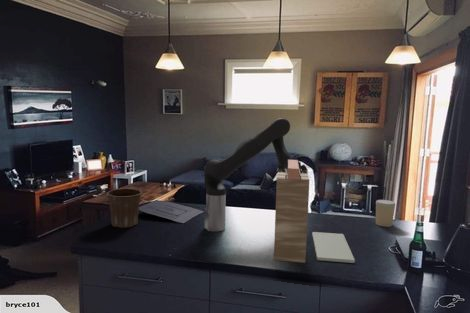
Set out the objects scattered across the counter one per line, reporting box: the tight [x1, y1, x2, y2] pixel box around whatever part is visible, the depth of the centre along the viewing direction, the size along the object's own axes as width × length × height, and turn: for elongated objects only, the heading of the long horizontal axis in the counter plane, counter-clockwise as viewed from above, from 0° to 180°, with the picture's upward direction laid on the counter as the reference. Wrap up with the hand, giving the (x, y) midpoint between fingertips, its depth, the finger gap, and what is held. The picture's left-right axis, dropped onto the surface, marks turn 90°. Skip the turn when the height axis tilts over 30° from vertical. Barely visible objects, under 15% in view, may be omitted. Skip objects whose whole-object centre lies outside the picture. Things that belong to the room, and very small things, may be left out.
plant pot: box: [106, 188, 143, 229], centre depth 178 cm, size 16×16×16 cm
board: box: [311, 231, 356, 264], centre depth 155 cm, size 30×14×1 cm, turn 172°
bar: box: [288, 159, 299, 180], centre depth 146 cm, size 24×4×4 cm, turn 172°
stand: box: [273, 170, 310, 264], centre depth 145 cm, size 14×12×33 cm
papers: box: [138, 199, 205, 224], centre depth 198 cm, size 24×30×4 cm
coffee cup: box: [375, 199, 396, 228], centre depth 188 cm, size 9×9×12 cm
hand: (292, 163), depth 153 cm, fingers closed on bar, 4 cm apart
